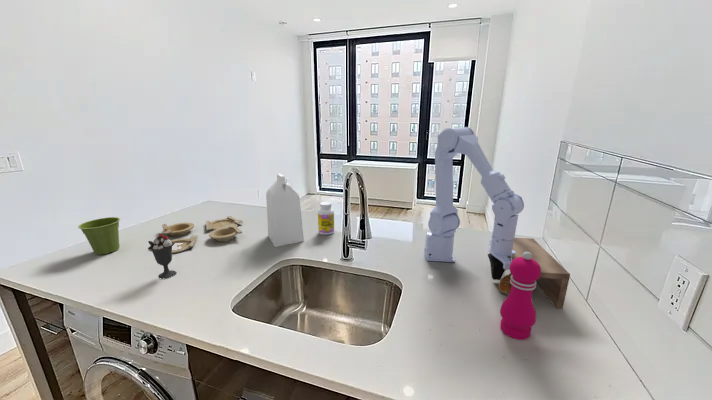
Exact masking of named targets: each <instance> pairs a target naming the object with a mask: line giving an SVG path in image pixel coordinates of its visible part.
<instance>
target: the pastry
mask: <svg viewBox="0 0 712 400" xmlns="http://www.w3.org/2000/svg"><path fill="white" fill-rule="evenodd" d="M511 275H512V274H511V272H510V273H509V274H506V275H505V276H504V275H503V276H502V277H501V279H500V280H499V283H498V291H499V292H500V293H503V294H505V295H507V296H508V295H509V293H510V291H511V287H512V284H511V283H510V280H511Z"/></svg>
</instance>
